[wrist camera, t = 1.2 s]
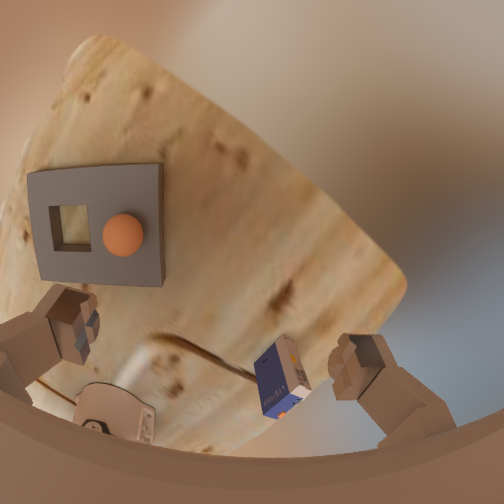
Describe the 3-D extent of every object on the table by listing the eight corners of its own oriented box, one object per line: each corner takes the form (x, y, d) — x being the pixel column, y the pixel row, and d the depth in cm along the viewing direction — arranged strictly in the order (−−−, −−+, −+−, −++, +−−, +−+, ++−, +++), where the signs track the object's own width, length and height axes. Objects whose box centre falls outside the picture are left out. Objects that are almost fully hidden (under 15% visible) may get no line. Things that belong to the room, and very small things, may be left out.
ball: (148, 248, 35) (138, 264, 30) (112, 247, 34) (98, 262, 30) (146, 209, 33) (135, 220, 28) (109, 209, 32) (94, 220, 28)
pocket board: (165, 277, 40) (162, 287, 37) (49, 271, 37) (41, 280, 34) (163, 162, 34) (158, 164, 31) (37, 170, 32) (26, 173, 29)
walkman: (265, 369, 48) (277, 421, 37) (253, 363, 47) (263, 417, 36) (295, 340, 46) (314, 391, 35) (282, 333, 46) (300, 386, 34)
